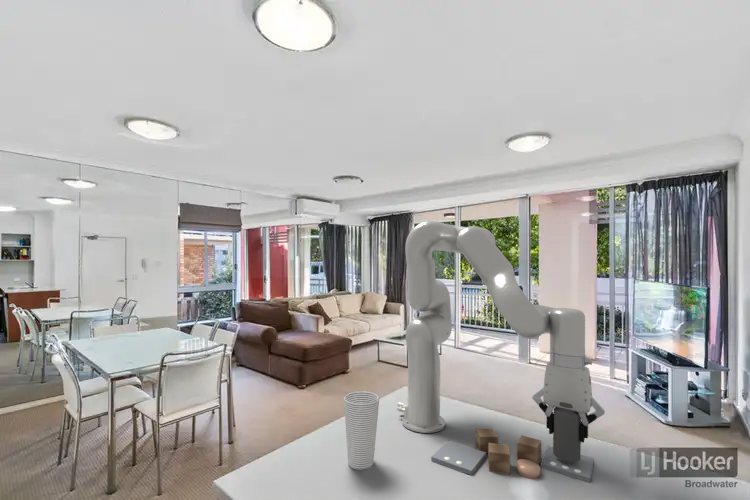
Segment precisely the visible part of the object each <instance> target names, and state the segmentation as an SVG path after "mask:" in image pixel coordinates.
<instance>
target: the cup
mask: <svg viewBox="0 0 750 500" xmlns="http://www.w3.org/2000/svg"><path fill="white" fill-rule="evenodd" d="M343 404H344V406H343V407H344V419H345V421H344V422H345V433H346V435H345V437H346V438H345V439H346V448H347V450H346V452H347V453H346V454H347V464H348V466H349V467H350V468H351V469H354V470H359V471H362V470H363V471H365V470H367V469H370V468H371V467H372V466H373V465H374V460H375V450H376V448H375V447H376V438H377V427H378V416H379V408H380V407H379V406H380V396H379V394H377V393H376V392H374V391H373V392H372V391H368V390H354V391H350V392H348V393H346V394H345V395H344V396H343Z"/></svg>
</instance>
